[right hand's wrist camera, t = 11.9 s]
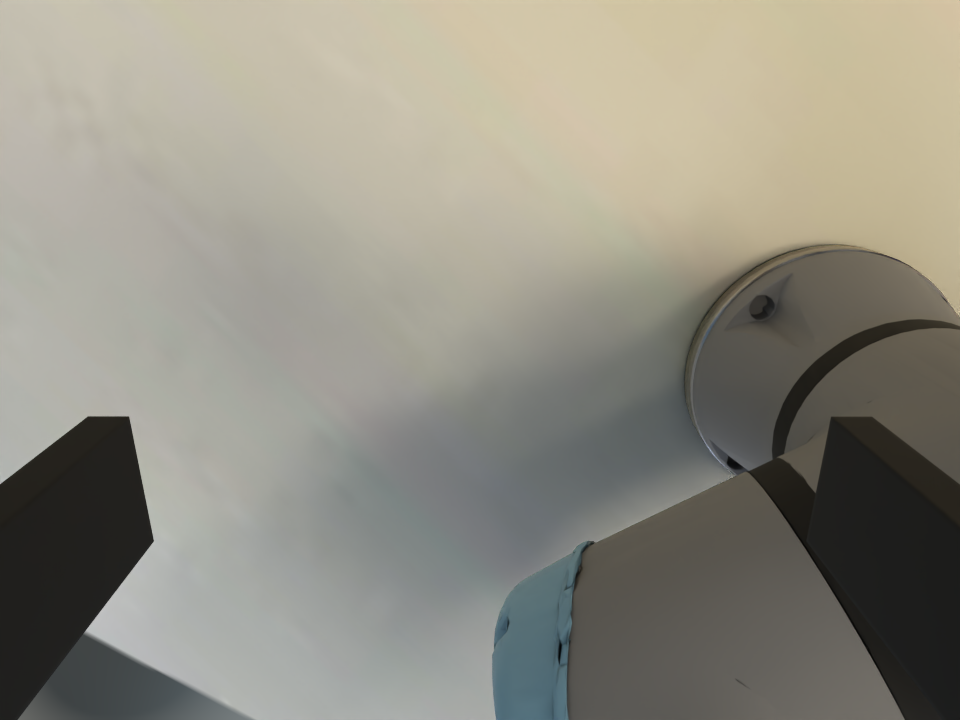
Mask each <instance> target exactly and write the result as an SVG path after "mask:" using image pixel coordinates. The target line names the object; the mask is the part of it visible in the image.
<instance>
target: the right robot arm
mask: <svg viewBox="0 0 960 720" xmlns="http://www.w3.org/2000/svg"><path fill="white" fill-rule="evenodd" d="M685 396H686V402H687V407H688V411H689V414H690V417H691V420H692V422H693V425H694V427H695V428H696V430H697V432H698V434H699V435H700V437H701V438H702V440H703V441H704V443H705V444H706V446H707V447H708V449H709V450H710V451H711V453H712V454H713V455H714V456H715V457H716V459H717V460H718V461H719V462H720V463H721V464H722V465H723V466H725V467H726V468H727V469H728V470H730V471H731V472H732V473H733V474H734V475H736V476H735V477H733V478H731V479H729V480H727V481H725V482H723V483H720V484H718V485H716V486H714V487H712V488H710V489H708V490H706V491H704V492H702V493H700V494H697V495H695V496H693V497H691V498H689V499H687V500H685V501H683V502H681V503H679V504H676V505H674V506H672V507H670V508H668V509H666V510H664V511H662V512H660V513H658V514H656V515H653V516H651V517H649V518H647V519H645V520H643V521H641V522H639V523H637V524H635V525H632V526H630V527H628V528H626V529H624V530H622V531H620V532H618V533H616V534H614V535H612V536H609V537H607V538H605V539H603V540H601V541H599V542H597V543H595V542H594V541H586V542H583V543H581V544H580V545H578V546H577V547H576V549H575V550H574V551H573V553H572V554H570V555H568V556H566V557H564V558H563V559H561V560H559V561H557V562H555V563H553V564H552V565H550V566H548V567H546V568H544V569H542V570H540V571H539V572H537V573H535V574H533V575H531V576H529V577H528V578H526V579H524V580H523V581H522V582H520V583H519V584H518V585H517V586H516V587H515V588H514V589H513V590H512V591H511V593H510V594H509V595H508V597H507V599H506V600H505V603H504V605H503V607H502V609H501V611H500V614H499V617H498V621H497V624H496V629H495V639H494V652H493V657H492V679H493V695H494V706H495V714H496V720H960V317H959V316H958V315H957V314H956V312H955V311H954V309H953V308H952V307H951V305H950V304H949V302H948V301H947V299H946V298H945V296H944V295H943V294H942V293H941V291H940V290H939V289H938V288H937V287H936V286H935V285H934V284H933V283H932V282H931V281H930V280H928V279H927V278H926V277H925V276H923V275H922V274H921V273H919V272H918V271H917V270H915V269H914V268H912V267H911V266H909V265H907V264H905V263H903V262H901V261H899V260H897V259H894V258H892V257H889V256H887V255H884V254H881V253H878V252H875V251H872V250H868V249H864V248H861V247H854V246H846V245H823V246H815V247H808V248H804V249H800V250H796V251H792V252H789V253H786V254H783V255H781V256H778V257H776V258H774V259H772V260H769V261H767V262H765V263H764V264H762V265H760V266H758V267H756V268H755V269H753V270H752V271H750V272H749V273H747V274H746V275H744V276H743V277H742V278H741V279H739V280H738V281H737V282H736V283H734V284H733V285H732V286H731V287H730V288H729V289H728V290H727V291H726V292H725V293H724V294H723V295H722V296H721V297H720V298H719V299H718V300H717V302H716V303H715V304H714V305H713V307H712V308H711V309H710V311H709V312H708V313H707V315H706V317H705V318H704V320H703V321H702V323H701V325H700V327H699V329H698V331H697V333H696V335H695V337H694V340H693V342H692V345H691V348H690V351H689V355H688V359H687V364H686V370H685ZM153 542H154V540H153V535H152V530H151V525H150V520H149V515H148V509H147V504H146V499H145V494H144V489H143V484H142V479H141V474H140V469H139V464H138V459H137V454H136V449H135V444H134V439H133V434H132V429H131V424H130V419H129V417H87V418H86V419H84V420H83V421H82V422H80V423H79V424H78V425H76V426H75V427H74V428H73V429H71V430H70V431H69V432H67V433H66V434H65V435H63V436H62V437H61V438H60V439H58V440H57V441H56V442H54V443H53V444H52V445H51V446H49V447H48V448H47V449H45V450H44V451H43V452H41V453H40V454H39V455H38V456H36V457H35V458H34V459H32V460H31V461H30V462H29V463H27V464H26V465H25V466H23V467H22V468H21V469H19V470H18V471H17V472H16V473H14V474H13V475H12V476H10V477H9V478H8V479H6V480H5V481H4V482H3V483H1V484H0V720H18V718H19V717H20V716H21V714H22V713H23V712H24V710H25V709H26V708H27V707H28V705H29V704H30V703H31V701H32V700H33V699H34V697H35V696H36V695H37V693H38V692H39V691H40V690H41V688H42V687H43V686H44V684H45V683H46V682H47V680H48V679H49V678H50V676H51V675H52V674H53V673H54V671H55V670H56V669H57V667H58V666H59V665H60V663H61V662H62V661H63V659H64V658H65V657H66V655H67V654H68V653H69V651H70V650H71V649H72V648H73V646H74V645H75V644H76V642H77V641H78V640H79V638H80V637H81V636H82V635H83V633H84V632H85V631H86V629H87V628H88V627H89V625H90V624H91V623H92V621H93V620H94V619H95V618H96V616H97V615H98V614H99V612H100V611H101V610H102V608H103V607H104V606H105V604H106V603H107V602H108V601H109V599H110V598H111V597H112V595H113V594H114V593H115V591H116V590H117V589H118V587H119V586H120V585H121V583H122V582H123V581H124V580H125V578H126V577H127V576H128V574H129V573H130V572H131V570H132V569H133V568H134V566H135V565H136V564H137V563H138V561H139V560H140V559H141V557H142V556H143V555H144V553H145V552H146V551H147V549H148V548H149V547H150V546H151V544H152V543H153Z"/></svg>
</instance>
